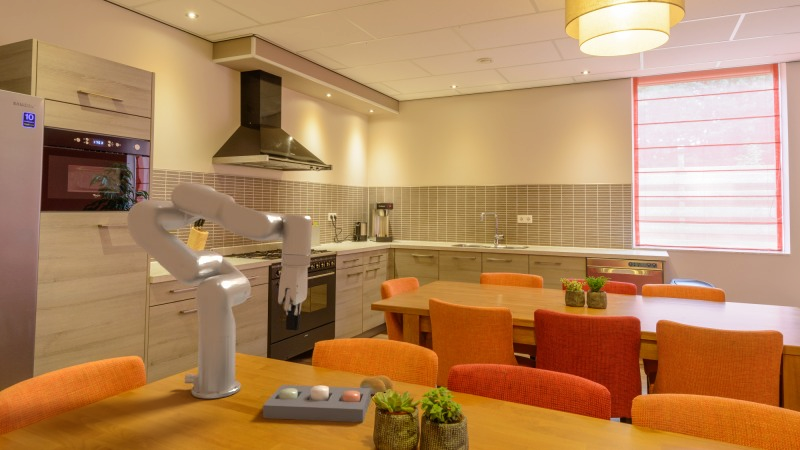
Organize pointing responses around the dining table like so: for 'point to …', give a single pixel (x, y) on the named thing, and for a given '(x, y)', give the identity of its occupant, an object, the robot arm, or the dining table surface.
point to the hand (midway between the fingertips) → (292, 329)
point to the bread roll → (377, 383)
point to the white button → (320, 393)
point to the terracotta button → (351, 396)
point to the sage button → (288, 393)
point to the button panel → (318, 405)
